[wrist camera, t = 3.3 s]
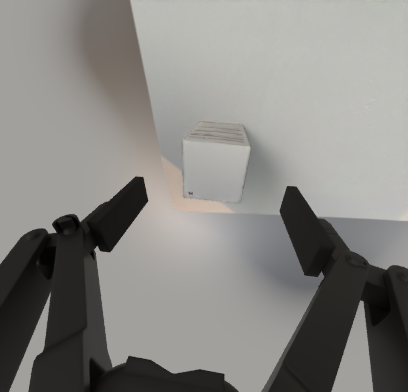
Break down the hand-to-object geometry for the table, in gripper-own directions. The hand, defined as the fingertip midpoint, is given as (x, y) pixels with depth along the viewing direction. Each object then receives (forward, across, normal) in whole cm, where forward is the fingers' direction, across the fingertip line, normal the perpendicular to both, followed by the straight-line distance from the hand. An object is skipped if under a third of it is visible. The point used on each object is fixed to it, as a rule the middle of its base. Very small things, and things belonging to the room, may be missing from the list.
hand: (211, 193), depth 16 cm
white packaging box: (+17, 0, 0) cm, 17 cm away
